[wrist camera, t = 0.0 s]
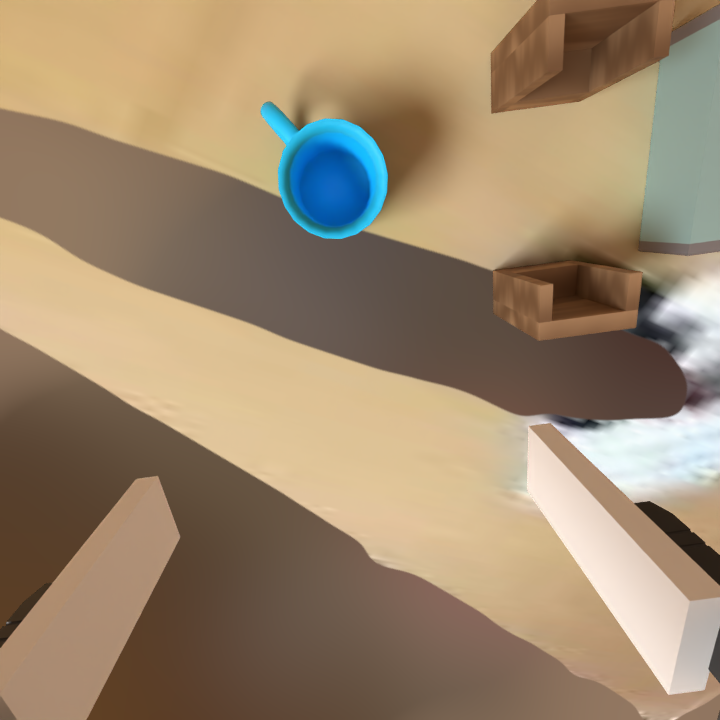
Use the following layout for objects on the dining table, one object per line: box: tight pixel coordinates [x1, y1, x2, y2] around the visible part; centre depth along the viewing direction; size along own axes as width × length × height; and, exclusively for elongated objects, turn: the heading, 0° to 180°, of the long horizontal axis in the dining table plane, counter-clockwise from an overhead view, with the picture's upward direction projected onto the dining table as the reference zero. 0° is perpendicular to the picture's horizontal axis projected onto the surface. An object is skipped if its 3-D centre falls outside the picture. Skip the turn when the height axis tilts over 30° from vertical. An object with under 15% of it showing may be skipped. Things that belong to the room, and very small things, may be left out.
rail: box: [638, 4, 720, 256], centre depth 33 cm, size 18×4×6 cm, turn 7°
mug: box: [261, 102, 388, 239], centre depth 32 cm, size 12×8×8 cm
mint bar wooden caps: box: [491, 0, 675, 341], centre depth 32 cm, size 23×8×10 cm, turn 7°
